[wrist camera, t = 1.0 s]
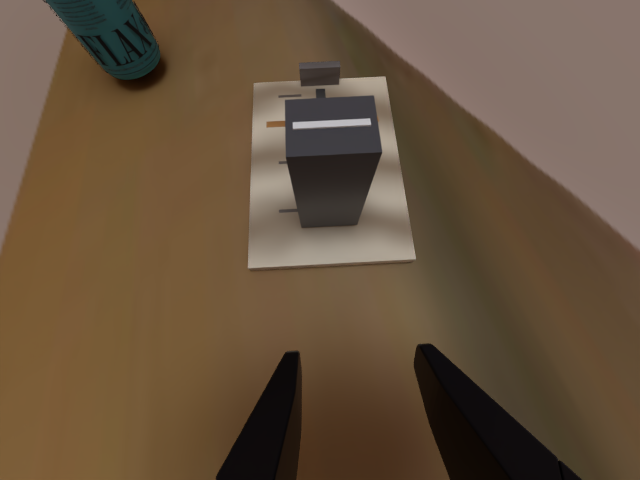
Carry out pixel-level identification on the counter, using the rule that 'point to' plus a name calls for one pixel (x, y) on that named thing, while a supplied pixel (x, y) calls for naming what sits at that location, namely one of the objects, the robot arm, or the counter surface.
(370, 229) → the console panel
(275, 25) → the counter surface
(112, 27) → the beverage bottle
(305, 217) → the fader cap
